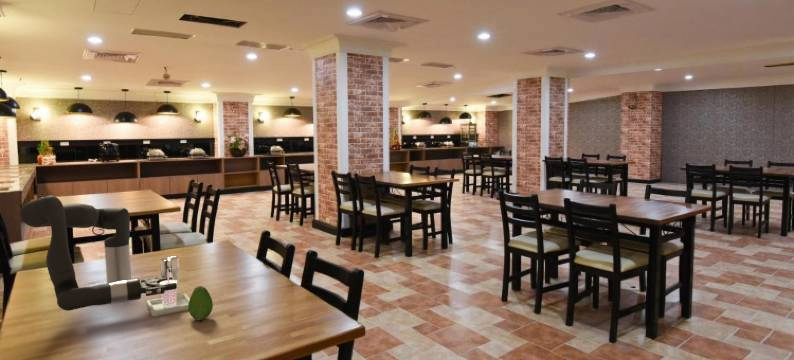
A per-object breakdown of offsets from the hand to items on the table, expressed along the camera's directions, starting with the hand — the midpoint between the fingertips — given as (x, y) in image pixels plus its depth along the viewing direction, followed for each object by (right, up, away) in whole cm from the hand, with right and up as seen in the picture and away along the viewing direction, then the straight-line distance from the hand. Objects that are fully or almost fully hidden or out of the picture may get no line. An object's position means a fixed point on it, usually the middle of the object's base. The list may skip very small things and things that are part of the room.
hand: (174, 282), depth 185 cm
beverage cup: (-2, -9, 0) cm, 9 cm away
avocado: (+15, -11, -12) cm, 22 cm away
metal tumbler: (-7, -8, +14) cm, 18 cm away
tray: (-1, -9, 0) cm, 9 cm away
